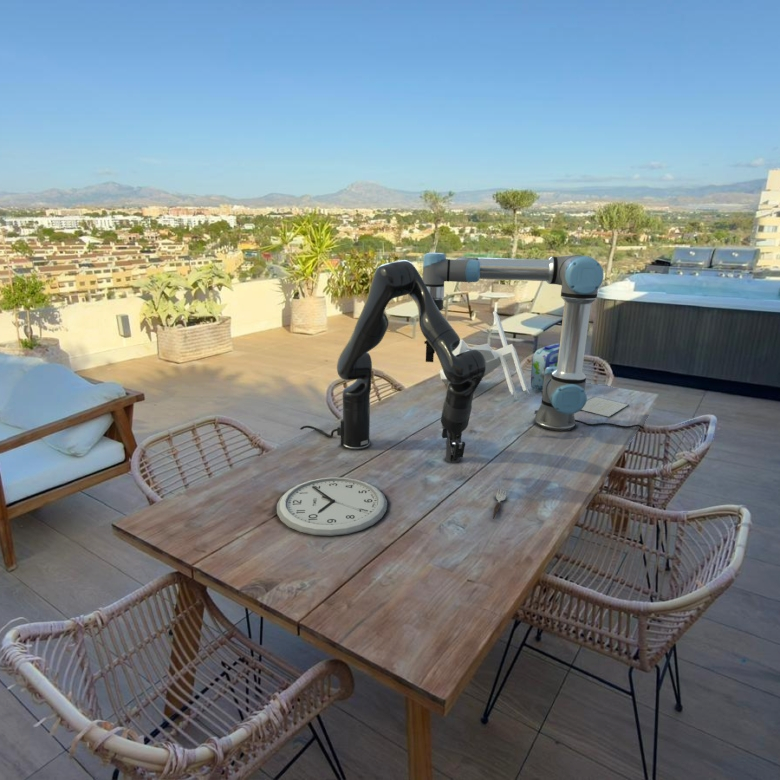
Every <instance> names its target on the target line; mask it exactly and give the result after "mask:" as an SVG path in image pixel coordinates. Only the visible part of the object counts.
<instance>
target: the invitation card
mask: <svg viewBox="0 0 780 780" xmlns="http://www.w3.org/2000/svg"><path fill="white" fill-rule="evenodd" d="M628 406H629V404H627V403H623V402H618V401H614V400H609V399H605V398H601V397H596V396H593V397H592V398H590V399H587V401H586V404H585V406H584V407H583V408H582V409H581V410H580V411H584V412H587V413H593V414H596V415H600V416H604V417H608V418H609V417H611V416H613V415H614V414H616V413H617V412H619V411H621V410H623V409H624V408H626V407H628Z"/></svg>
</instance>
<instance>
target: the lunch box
mask: <svg viewBox="0 0 780 780" xmlns="http://www.w3.org/2000/svg"><path fill="white" fill-rule="evenodd" d="M559 346H560V343H553V344H550V345H547V346H546V345H545V346H544V347H541V348H538V349H537V350H536V351H535V352H534V354H533V357H532V362H531V371H530V372H531V374H530V387H531V389H533V390H539V391H543V382H544V373H545V369H546V368H547V367H553V366H557V364H558V355H559Z"/></svg>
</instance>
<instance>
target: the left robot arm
mask: <svg viewBox="0 0 780 780" xmlns="http://www.w3.org/2000/svg"><path fill="white" fill-rule="evenodd" d="M407 295H408V296H409V297H410V298H411V299H412V300H413V302H414V303H415V305H416V307H417V313H418V325H419V328H420V329H419V330H420V331H421V334H422V335H423V337H424V338H425V340H427V341H428V342H429V344H430V345H431V346H432V348H433V349H434V350H435V354H436V356H437V359H438V361H439V363H440V367H441V369H443V372H444V374H445V377H446V378H447V379H448V381H450V382H449V384H448V385H447V387H446V391H445V392H446V393H445V398H444V401H443V404H442V410H441V416H440V423H441V428H442V432H441V438H442V439H447V438H448V439H449V446H450V447H451V455H450V461H452V462H453V461H457V460H458V458H460V459H461V458H464V453H465V447H466V443H465V441H462V436H463V432H464V431H465V430H467V428H468V426H469V423H470V418H471V414H472V407H473V399H474V395H475V392H476V390H477V389H478V387H479V385H480V383H481V382H482V381H483V380H482V378H483V379H484V377H483V376H484V373H485V370H486V361H485V358H484V356H483V354H482V353H481V352H480V351H478V350H476V349H470V350H467V351H465V352H463V353H460V354H458V355H456V356H455V355H454V354H453V353H452V352H453V351H454V350H455V349H456V348H457V347H458V345H459V344H460V339H461V338H460V335H459V334H458V333H457V331H456V330H455V329H454V328H453V326H452V325H451V324H450V323H449V322H448V320H447V319H446V318H445V316H444V315H443V313H442V312H441V310H440V311H439V309H438V307H437V306H436V304H435V302H434V300H433V298H432V296H431V294H430V292H429V291H428V289H427V287H426V285H425V283H424V281H423V277H422V276H421V274H420V272H419V270H418V269H417V268H416V266H415V265H414V264H413V263H412V262H410V261H409V260H405V259H403V260H402V259H401V260H397V261H393V262H388V263H384V264H381V265H380V266H378V267H377V268H376V269H375V272H374V273H373V277H372V280H371V283H370V286H369V290H368V294H367V297H366V299H365V302H364V305H363V307H362V310H361V312H360V314H359V316H358V318H357V320H356V323H355V325H354V328H353V331H352V333H351V334H350V337H349V339H348V341H347V343H346V344H345V346H344V347H343V349H342V350H341V352H340V354H339V356H338V358H337V362H336V373H337V375H338V376H339V378H340V379H342V380H344V381H353V380H354V382H353V383H352V384H350V385H348V386H346V387H345V388H344V389H342V418H341V419H340V424H339V425H338V426H337V428H334V429H332V430H331V432H330V434H328V433H326V432H325V431H324V430H322V429H321V428H318V427H315V426H311V425H303V426H301V427H299V430H304V429H311V430H314V431H317V432H319V433H321V434H322V435H323V436H325V437H327V438H333V436H334V433H336V432H337V433H336V435H337V436H340V446H341V447H344V448H346V449H349V450H355V451H356V450H363V449H367V448H369V447H370V445H371V442H370V440H371V439H370V437H371V436H370V435H371V434H370V433H371V432H370V430H371V429H370V426H371V425H370V423H371V422H370V419H371V418H370V417H371V412H370V411H371V407H370V406H371V405H370V403H371V391H372V376H373V375H372V374H373V362H372V361H373V360H372V357H371V355H370V353H369V352H370V351H372V350H373V349H374V348H376V347H377V346H378V345H379V344H380V343H382V340H383V339H384V337H385V335H386V333H387V331H388V329H389V326H390V319H389V317H388V313H387V310H386V308H387V306H388V304H389V303H390V302H391V301H392V300H393V299H396V298H399V297H404V296H407ZM481 380H482V381H481ZM455 440H456V443H452V441H455Z"/></svg>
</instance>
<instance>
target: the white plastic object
mask: <svg viewBox="0 0 780 780" xmlns="http://www.w3.org/2000/svg"><path fill="white" fill-rule="evenodd" d="M492 315H493V319H494V321H495V324H496V325H495V326H496V328H497V332H498V335H499V338H500V342H501V345H502V347H500V348H498V349H496V350H495V349H493V348H492V347H491V346H490V344H489V343H488V342H487V343H483V344H479V345H473V346H469V345H468V343H466V342H465V340H464V339H463V338H460V344H459V345H458V347H457V348H456V349H455V350H454V351H453V352H452V353H453V354H454V355H455V356H456V355H458V354H460V353H463V352H465V351H467V350H470V349H476V350H478V351H480V352H481V353H482V354H483V356H484V358H485V361H486V370H485V373H484V376H483V378H482V380H481V382H482V381H484V378H485V377H486V376H487V375H489V374H490V373H492V372H494V371H495V370H496V369H497V368H499V367H500V366H502V370H503V373H504V376H505V380H506V383H507V386H508V390H509V393H510V394H511V395H512V397H513V398H514V399H515V400H517V392H516V391H517V390H516V388H515V385H514V381H513V378H512V375H511V371H510V369H509V365H508V361H510V360H513V363H514V366H515V369H516V372H517V376H518V380H519V382H520V385H521V389H522V391H523V393H524V395H525V396H526V397H528V396H531V395H530V390H529V388H528V387H529V386H528V384H527V381H526V378H525V375H524V371H523V369H522V368H523V367H522V366H521V362H520V359H519V355H518V352H517V349H516V347H515V346H514V345H513V343H511V344H508V341H507V337H506V334H505V331H504V328H503V325H502V321H501V318H500V315H499V314H498V312H497V311H496V310H495V311H492ZM438 372H439V376H440V381H442V383H443V384H444V385H445V386H448V384H449V382H450V381H448V379H447V378H446V377H445V374H444V372H443V369H442V368H441V369H440V370H439V371H438Z"/></svg>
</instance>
